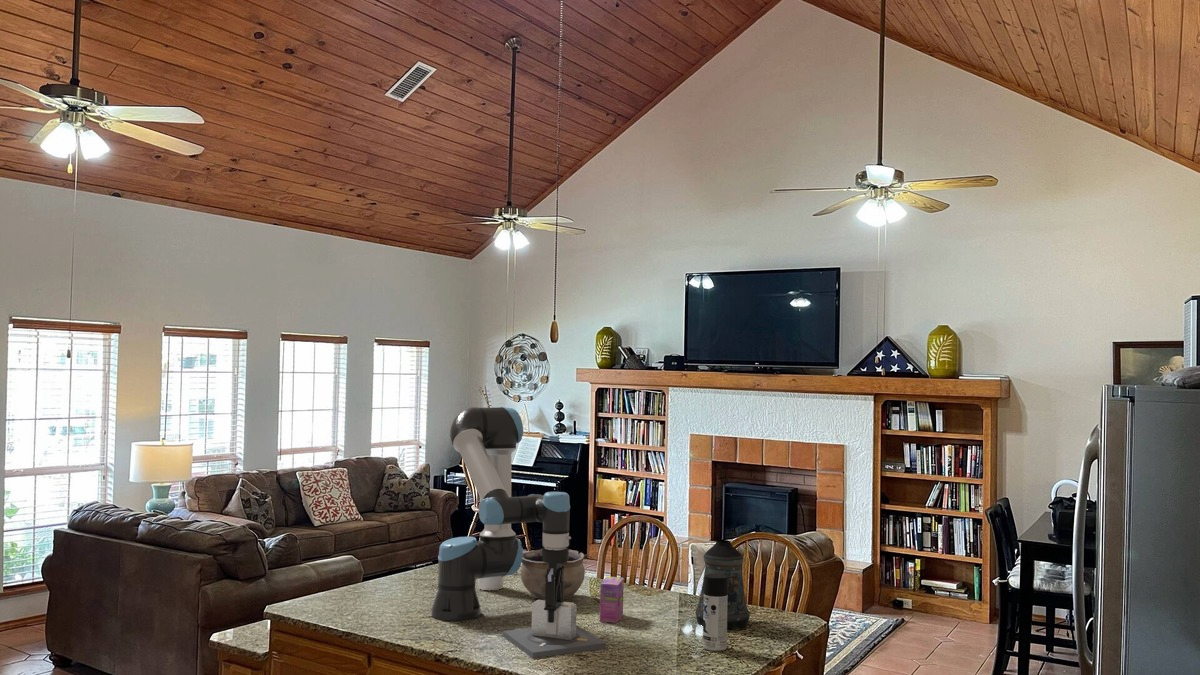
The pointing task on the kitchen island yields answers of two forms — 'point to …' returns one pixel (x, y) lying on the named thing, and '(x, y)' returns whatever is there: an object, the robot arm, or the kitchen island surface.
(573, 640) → the dial plate
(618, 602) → the box
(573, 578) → the ceramic bowl
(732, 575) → the beer stein
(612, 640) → the kitchen island surface
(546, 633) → the robot arm
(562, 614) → the dial handle
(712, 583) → the spray can
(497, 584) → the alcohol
